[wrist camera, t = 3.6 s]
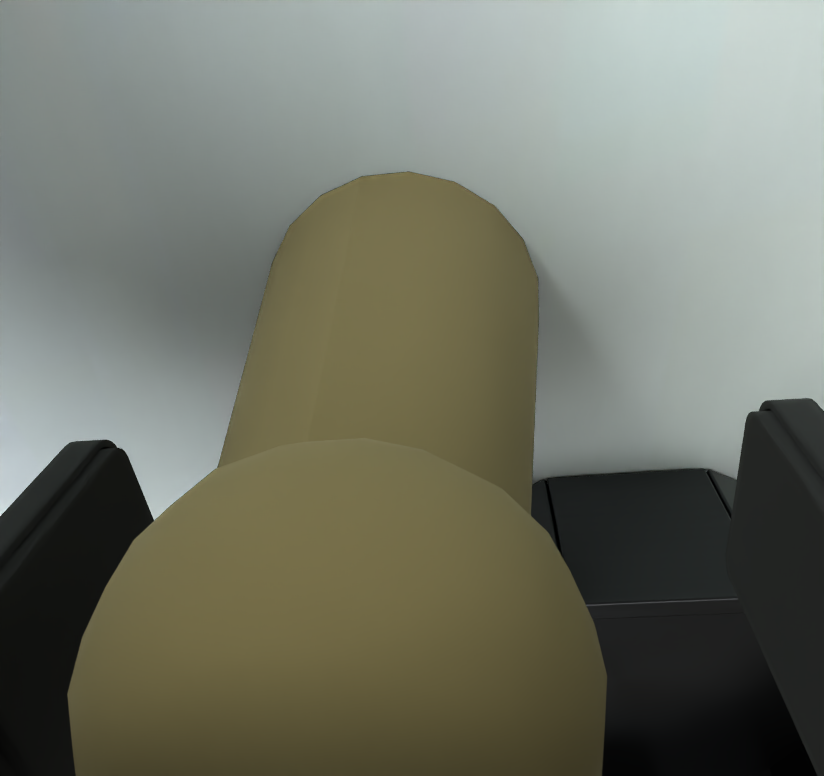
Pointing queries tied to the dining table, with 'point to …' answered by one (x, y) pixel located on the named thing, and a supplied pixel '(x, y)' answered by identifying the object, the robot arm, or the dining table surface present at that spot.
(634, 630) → the frying pan
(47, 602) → the robot arm
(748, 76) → the dining table surface
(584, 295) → the dining table surface
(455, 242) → the olive game pawn
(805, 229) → the dining table surface
